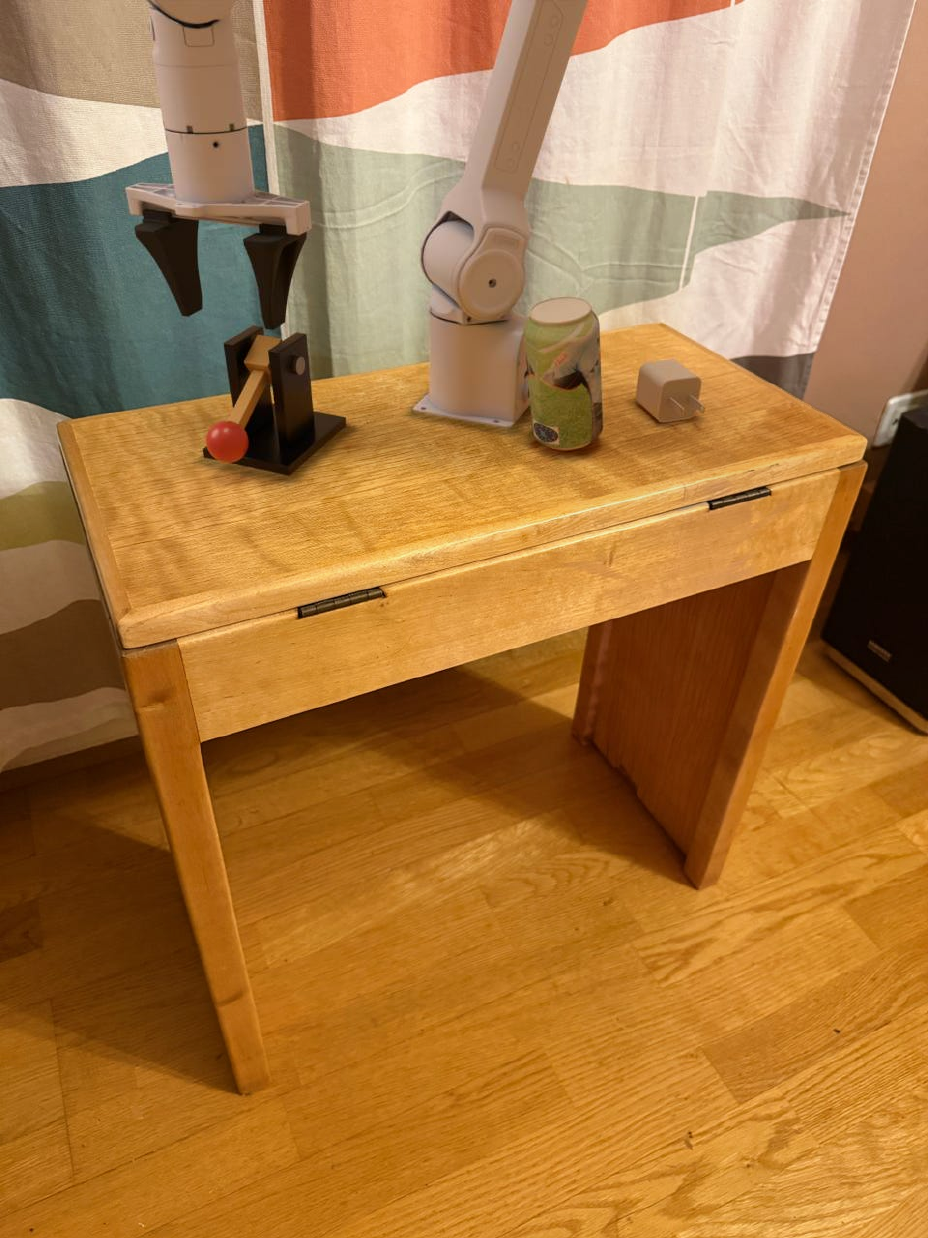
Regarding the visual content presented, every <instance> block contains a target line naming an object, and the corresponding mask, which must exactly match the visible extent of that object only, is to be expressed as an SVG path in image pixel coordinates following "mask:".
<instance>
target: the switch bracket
mask: <svg viewBox="0 0 928 1238" xmlns="http://www.w3.org/2000/svg"><path fill="white" fill-rule="evenodd" d="M257 335H263V336H265V331H264V326H261V325H251V326H248V328H246V329H244V330H242V331H241V332H239V333H237V334H236V335H233V336H232V337H231V338H229V339H228V340H226V341H225V342H223V351H224V358H225V363H226V364H225V365H226V372H227V377H228V385H229V391H230V397H231V403H232V404H231V406H232V409H233V408H234V406H235V404H236V402H237V400H238V398H239V396H240V394H241V392H242V390H243V388H244V386H245V384H246V382H247V380H248V378H249V377H250V375H251V373H250V372H249V370H248V368H247V367H246V365H245V363H244V361H245V359H246V357H247V355H248V353H249V351H250V349H251V347H252V345H253V343H254V341H255V339H256V337H257ZM268 355H269V364H270V372H271V381H272V384H268V383H267V384H266V386H265V388H264V390H263V392H262V394H261V396H260V398H259V400H258V402H257V404H256V406H255V408H254V410H253V412H252V414H251V416H250V418H249V420H248V422H247V424H246V426H245V428H244V430H245V432H246V433H247V436H248V441H249V444H248V449H247V452H246V453H245V455H244V456H243V457H242V458H241V459H239V460H238V461H235V462H231V463H230V464H232V465H237V466H242V467H247V468H250V469H251V468H252V469H255V470H261V471H265V472H270V473H275V474H280V475H282V476H283V475H284V476H291V475H292V474H293V473H294V472H295V471H297V470H298V469H299V468H300V467H301V466H302V465H303V464H305V463H306V462H307V461H308V460H309V459H310V458H312V457H313V456H314V455H315V454H317V452H318V451H319V450H320V449H322V448H323V447H324V446H326V444H327V443H328V442H330V441H331V440H332V439H333V438H334V437H335V436H336V435H338V434H339V433H340V432H342V430H343V429H344V428H346V427H347V417H346V416H341V415H336V414H331V413H327V412H321V411H317V410H314V401H313V391H312V390H313V389H312V377H311V367H310V357H309V346H308V334H307V333H304V332H303V333H302V332H294V333H293V334H291V335H289V336H288V337H286V338H285V339H284V340H282V342H280V343H279V344H277V345H276V346H274V347H273V348H271V349H270V350H268ZM271 388H272V389H271ZM272 396H273V397H272ZM202 453H203V458H204V459H209V460H213V461H218V462H220V461H219V460H217V459H215V458H214V457H213V456H212V455H211V454H210V452H209V451H208V449H207V446H204V447H203V448H202Z"/></svg>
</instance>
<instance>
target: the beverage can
mask: <svg viewBox="0 0 928 1238" xmlns="http://www.w3.org/2000/svg"><path fill="white" fill-rule="evenodd" d="M528 317H529V318H528V320H527V321H526V323H525V326H524V340H525V351H526V362H527V373H528V384H529V395H530V405H529V407H530V416H531V417H530V418H531V427H532V435H533V437H534V439H535V440H536V441H537V442H539V443H540V444H542V445H543V446H546V447H548V448H550V449H552V450H557V451H573V450H578V449H582V448H584V447H586V446H588V445H589V444H590V443H592V442H593V441H594V440H596V439H597V438H598V437H599V436H600V435H601V434H602V432H603V430H604V413H603V412H604V411H603V409H604V408H603V386H602V385H603V384H602V382H603V381H602V357H601V356H602V355H601V353H602V352H601V328H600V327H601V325H600V320H599V318H598V316H597V315H596V313H595V312H594V310H593V307H592V304H591V302H590V301H588V300H587V299H585V298H583V297H582V298H581V297H576V296H557V297H552V298H551V297H550V298H547V299H543V300H541V301H539V302H537V303H535V304H534V305H533V306H531V308H530V309H529V311H528Z"/></svg>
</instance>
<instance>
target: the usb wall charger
mask: <svg viewBox="0 0 928 1238" xmlns="http://www.w3.org/2000/svg"><path fill="white" fill-rule="evenodd" d="M702 383H703V382H702V379H701V378H700V377H699V376H698V375H696V374H695V373H693V371H691V370H690V369H688V368H687V367H686V366H684V365H683V364H682V363H681V362H679V361H678V360H676V359H675V358H671V359H662V360H654V361H646V362H643V364H641V366H640V367H639V369H638V375H637V382H636V391H635V401H636V402H637V404H639V405H640V406H641V407H642V408H643V409H645V410H646V411H647V412H648V413H649V414H650V415H651V416H653V417H654V418H655V419H656V420H657V421H658V422H659V423H669V422H677V421H685V420H690V419H692V418H693V417H695V415H696V414H697V412H699V413H701V414H702V415H703V414H705V411H706V406H705V405H704V404H703V403H702V402H701V401H700V394H701V389H702Z"/></svg>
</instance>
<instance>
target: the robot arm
mask: <svg viewBox="0 0 928 1238" xmlns="http://www.w3.org/2000/svg"><path fill="white" fill-rule="evenodd" d="M146 2H147V3H148V4H149V5H150V6H148V7H147V12H148V20H147V25H148V31H149V35H150V37H151V40H152V43H153V47H152V51H151V57H152V62H153V63H152V64H153V70H154V75H155V81H156V82H155V83H156V87H157V88H156V89H157V93H158V94H157V95H158V99H159V105H160V106H159V107H160V111H161V112H160V113H161V118H162V124H163V129H164V133H165V134H164V135H165V136H164V137H165V143H166V147H167V153H168V159H169V166H170V171H171V177H172V183H152V182H139V183H135V184H132V185H129V186H127V187H125V194H126V199H127V204H128V209H129V214H130V215H131V216H137V217H143V218H142V219H141V221H142V222H141V223H139V224H136V225H135V226H134V227H133V229H134V235H135V238H136V239H137V240H138V241H139V242H140V243H141V244H142V246H143V247H144V248H145V250H146V251H147V252H148V253H149V255H150V256H151V258H152V259H153V261H154V262H155V264H156V265H157V267H158V269H159V270H160V272H161V274H162V275H163V277H164V280H165V281H166V283H167V286H168V288H169V290H170V292H171V294H172V297H173V299H174V301H175V303H176V306H177V309H179V313H180V315H181V316H182V317H185V318H186V317H187V318H189V317H191V316H193V315H194V314H196V313H198V312H200V311H202V310H204V309H203V308H204V307H203V304H204V303H203V301H204V300H203V299H204V298H203V289H202V280H201V275H200V267H199V254H198V253H199V251H198V250H199V248H198V247H199V245H198V244H199V242H198V241H199V227H200V225H199V224H200V221H202V222H210V223H217V224H225V225H234V226H243V227H251V228H257V229H258V231H259V232H255V233H252V234H251V235H249V236H247V237H244V238H243V239H242V242H243V247H244V249H245V251H246V254H247V256H248V258H249V259H248V260H249V261H250V264H251V267H252V270H253V274H254V278H255V281H256V286H257V292H258V299H259V307H260V314H261V315H260V316H261V320H262V324H263V327H264V329H265V330H269V331H274V330H277V328H279V327H281V326H282V325H284V324H285V323H286V319H287V310H288V309H287V308H288V301H289V293H290V289H291V285H292V280H293V276H294V271H295V269H296V266H297V262H298V259H299V257H300V254H301V252H302V249H303V247H304V244H305V243H306V240H307V238H308V232H309V231H311V230H312V229H313V225H312V216H311V214H312V212H311V204H310V203H311V202H310V200H305V199H304V200H303V199H297V198H291V197H287V196H283V195H279V194H276V193H273V192H272V193H271V192H267V191H263V190H259V189H255V181H254V171H253V162H252V154H251V146H250V145H251V144H250V137H249V127H248V122H247V121H248V120H247V113H246V104H245V95H244V86H243V79H242V70H241V69H242V68H241V60H240V53H239V51H238V49H237V47H236V46H237V45H236V37H235V30H234V22H233V21H234V20H233V13H232V12H233V11H232V10H233V8H234V6H235V4H236V2H237V0H146ZM588 2H589V0H512V2H511V6H510V8H509V12H508V15H507V19H506V23H505V25H504V29H503V33H502V36H501V40H500V43H499V47H498V49H497V53H496V57H495V61H494V64H493V68H492V71H491V75H490V78H489V82H488V85H487V90H486V92H485V96H484V99H483V103H482V105H481V106H482V107H481V110H480V114H479V117H478V121H477V124H476V128H475V131H474V133H473V138H472V142H471V146H470V148H469V152H468V155H467V159H466V163H465V167H464V170H463V173H462V176H461V179H460V180H459V181H458V183H457V184H456V185H455V186H454V187H453V188H452V189H451V190H450V191H449V192H448V193H447V194H446V195H445V197H444V198H443V201H442V206H441V208H440V211H439V213H438V216H437V218H436V219H435V221H434V222H433V223H432V224H431V226H429V228H428V229H427V230H426V232H425V234H424V235H423V238H422V240H421V241H420V244H419V252H418V260H419V265H420V270H421V271H422V273H423V275H424V277H425V279H426V280H427V281H428V282H429V283H430V284H431V295H430V298H429V301H428V364H429V365H428V368H429V369H428V370H429V371H428V373H429V374H428V375H429V377H428V382H429V383H428V384H429V386H428V387H429V392H428V393H427V394H426V395H425V396H423V398H421V400H419V401H418V403H416V404H415V405H414V406H413V408H412V409H413V412H416V413H421V414H426V415H432V416H437V417H442V418H443V417H444V418H448V419H454V420H459V421H464V422H465V421H466V422H471V423H476V424H482V425H487V426H492V427H497V428H504V429H511V428H513V427H514V425H515V424H516V423H517V422H518V420H519V419H520V418H521V416H522V415H523V414H525V412H526V410H528V408H529V407H530V395H529V384H528V373H527V362H526V351H525V340H524V326H525V323H526V321H527V320H528V318H529V316H526V315H523V314H520V313H518V312H516V311H515V310H514V308H515V306H516V305H517V304H518V302H519V301H520V299H521V297H522V295H523V292H524V290H525V286H526V280H527V274H526V263H525V260H526V253H527V249H528V245H529V242H530V238H531V232H530V231H531V230H530V226H529V222H528V217H527V213H526V209H525V199H526V197H527V196H526V195H527V192H528V189H529V186H530V183H531V180H532V177H533V174H534V170H535V168H536V165H537V162H538V158H539V155H540V152H541V148H542V146H543V143H544V140H545V136H546V133H547V130H548V127H549V124H550V120H551V118H552V115H553V112H554V108H555V105H556V102H557V99H558V95H559V92H560V90H561V86H562V83H563V80H564V77H565V73H566V71H567V67H568V64H569V61H570V58H571V55H572V52H573V49H574V46H575V42H576V40H577V36H578V33H579V29H580V28H581V27H580V26H581V24H582V20H583V17H584V14H585V11H586V8H587V6H588V5H587V4H588Z"/></svg>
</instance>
